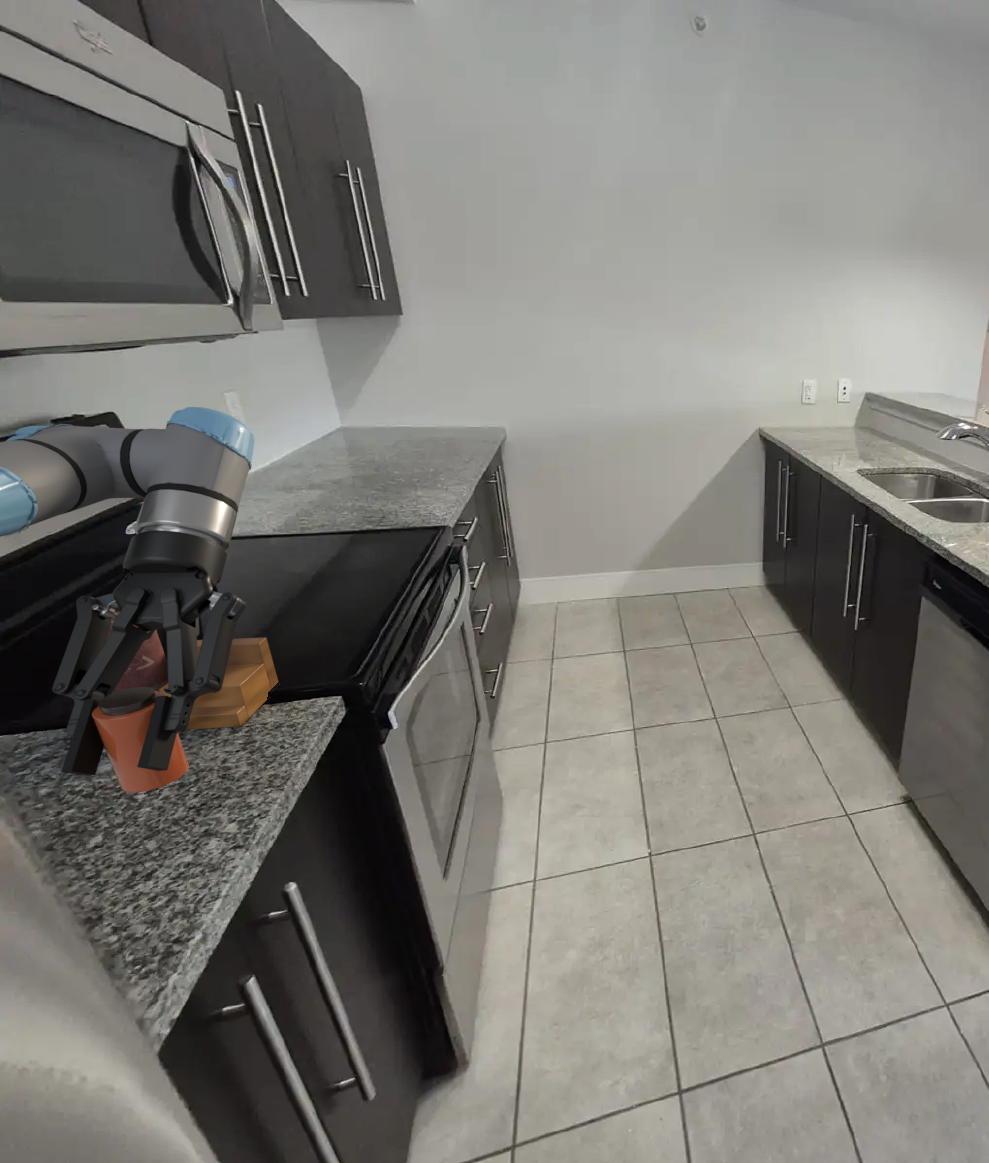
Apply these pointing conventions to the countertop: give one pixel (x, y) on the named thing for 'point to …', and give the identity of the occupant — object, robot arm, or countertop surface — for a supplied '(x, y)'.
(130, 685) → the can
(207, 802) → the countertop surface
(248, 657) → the wooden stair steps
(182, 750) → the spice jar
